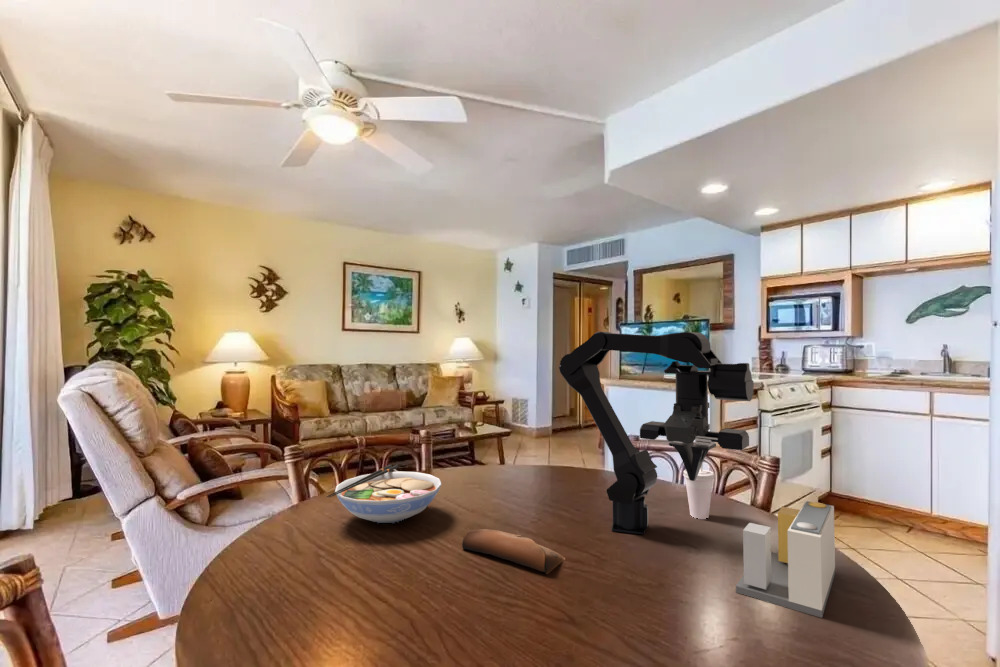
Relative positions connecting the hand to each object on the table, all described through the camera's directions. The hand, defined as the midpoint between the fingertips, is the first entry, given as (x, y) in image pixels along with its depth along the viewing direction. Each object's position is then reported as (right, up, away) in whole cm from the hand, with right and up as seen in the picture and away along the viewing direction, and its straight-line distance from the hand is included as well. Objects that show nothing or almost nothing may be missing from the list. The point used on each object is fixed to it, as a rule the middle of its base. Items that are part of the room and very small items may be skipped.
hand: (692, 480), depth 93 cm
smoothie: (+7, -13, +15) cm, 21 cm away
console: (+9, -12, -16) cm, 22 cm away
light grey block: (+3, -10, -18) cm, 21 cm away
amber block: (+12, -10, -10) cm, 19 cm away
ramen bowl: (-61, -13, +14) cm, 64 cm away
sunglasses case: (-34, -13, -4) cm, 37 cm away
